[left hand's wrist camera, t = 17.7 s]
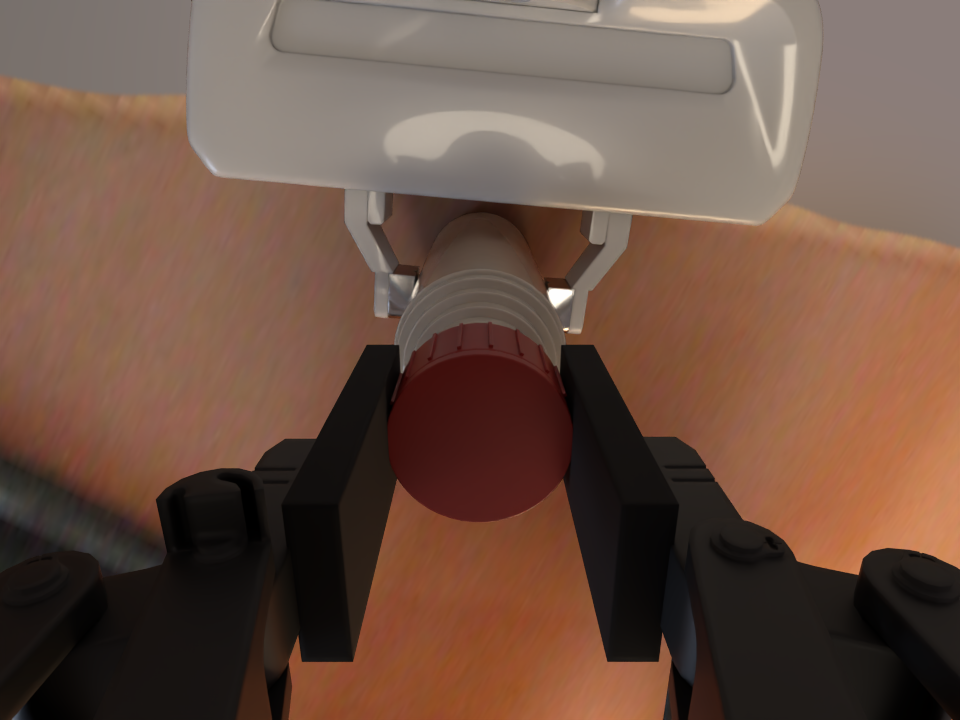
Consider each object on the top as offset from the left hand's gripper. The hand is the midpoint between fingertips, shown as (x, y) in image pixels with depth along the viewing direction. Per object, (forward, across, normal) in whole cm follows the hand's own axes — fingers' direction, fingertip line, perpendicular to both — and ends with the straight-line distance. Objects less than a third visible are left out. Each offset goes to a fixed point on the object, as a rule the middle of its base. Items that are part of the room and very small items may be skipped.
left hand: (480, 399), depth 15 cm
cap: (-2, 0, 0) cm, 2 cm away
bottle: (+16, 0, 0) cm, 16 cm away
